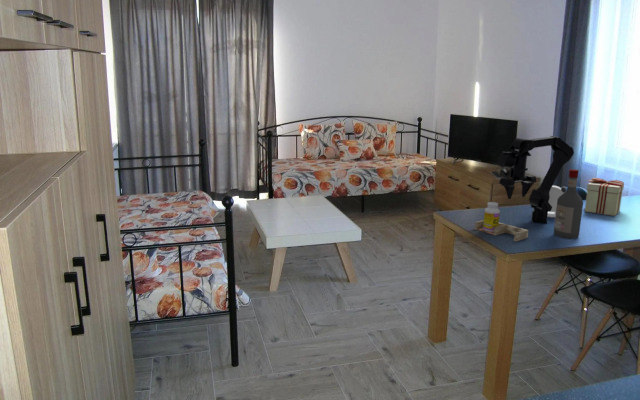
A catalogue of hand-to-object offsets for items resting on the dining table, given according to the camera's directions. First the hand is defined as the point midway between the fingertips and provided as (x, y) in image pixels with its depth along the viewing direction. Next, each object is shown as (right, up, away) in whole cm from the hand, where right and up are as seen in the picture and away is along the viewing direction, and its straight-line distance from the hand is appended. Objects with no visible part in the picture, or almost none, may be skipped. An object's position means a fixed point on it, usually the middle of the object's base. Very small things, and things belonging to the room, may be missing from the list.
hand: (516, 197), depth 254 cm
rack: (-12, -16, -11) cm, 23 cm away
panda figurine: (+25, -9, +21) cm, 34 cm away
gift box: (+55, -7, +28) cm, 62 cm away
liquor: (+17, -17, -14) cm, 28 cm away
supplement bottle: (-15, -15, -7) cm, 22 cm away
